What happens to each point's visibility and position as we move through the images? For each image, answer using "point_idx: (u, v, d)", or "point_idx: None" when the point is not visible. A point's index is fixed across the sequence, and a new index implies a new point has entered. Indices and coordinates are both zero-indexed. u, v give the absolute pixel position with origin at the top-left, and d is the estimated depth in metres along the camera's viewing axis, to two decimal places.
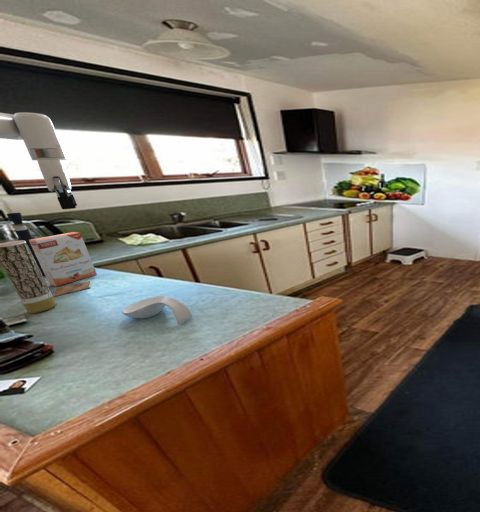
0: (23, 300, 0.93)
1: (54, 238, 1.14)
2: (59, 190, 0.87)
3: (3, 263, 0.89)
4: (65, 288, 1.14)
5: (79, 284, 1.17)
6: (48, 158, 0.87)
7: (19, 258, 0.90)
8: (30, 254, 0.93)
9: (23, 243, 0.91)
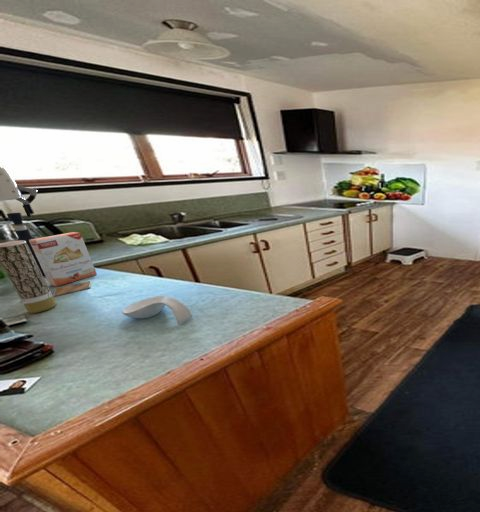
0: (23, 300, 0.93)
1: (54, 238, 1.14)
2: (35, 196, 0.91)
3: (3, 263, 0.89)
4: (65, 288, 1.14)
5: (79, 284, 1.17)
6: None
7: (19, 258, 0.90)
8: (30, 254, 0.93)
9: (23, 243, 0.91)
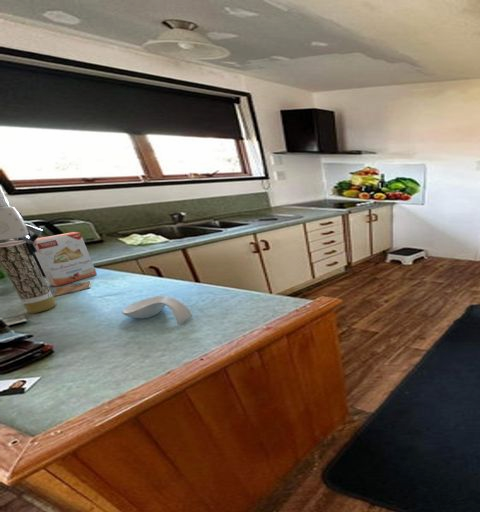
0: (23, 300, 0.93)
1: (54, 238, 1.14)
2: (38, 236, 0.94)
3: (3, 263, 0.89)
4: (65, 288, 1.14)
5: (79, 284, 1.17)
6: (9, 206, 0.88)
7: (19, 258, 0.90)
8: (30, 254, 0.93)
9: (23, 243, 0.91)
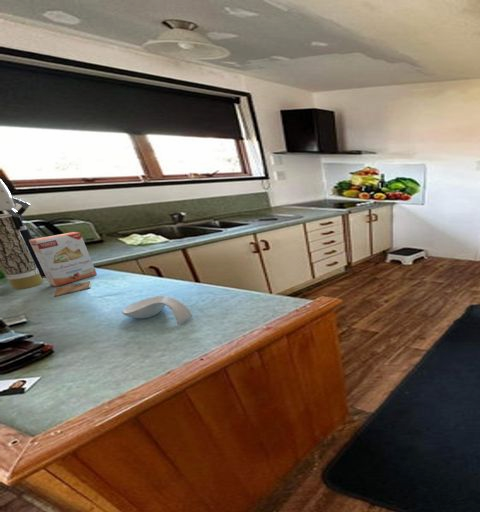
0: (8, 276, 0.90)
1: (54, 238, 1.14)
2: (25, 209, 0.91)
3: None
4: (65, 288, 1.14)
5: (79, 284, 1.17)
6: None
7: (4, 231, 0.87)
8: (16, 228, 0.90)
9: (9, 216, 0.88)
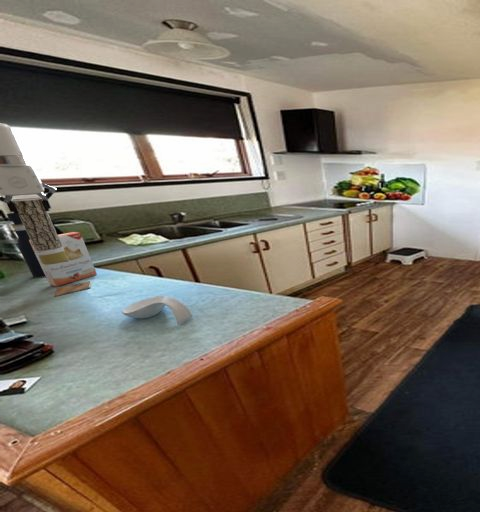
0: (38, 252, 1.02)
1: None
2: (52, 194, 1.03)
3: (21, 216, 0.98)
4: (65, 288, 1.14)
5: (79, 284, 1.17)
6: (27, 164, 0.98)
7: (35, 212, 0.99)
8: (45, 210, 1.02)
9: (39, 199, 1.00)
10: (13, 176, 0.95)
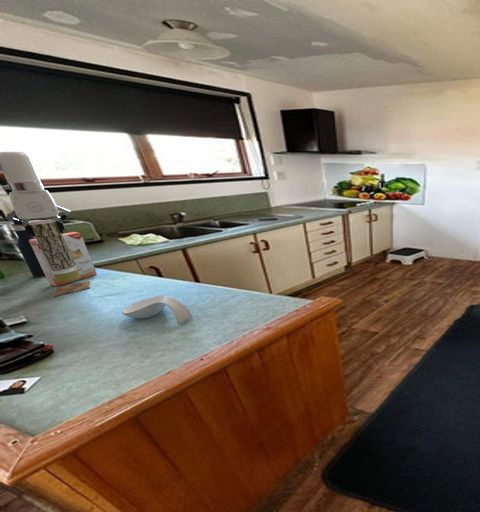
0: (54, 271, 1.08)
1: None
2: None
3: (38, 238, 1.03)
4: (65, 288, 1.14)
5: (79, 284, 1.17)
6: None
7: (51, 234, 1.05)
8: None
9: (54, 221, 1.06)
10: (31, 201, 1.00)
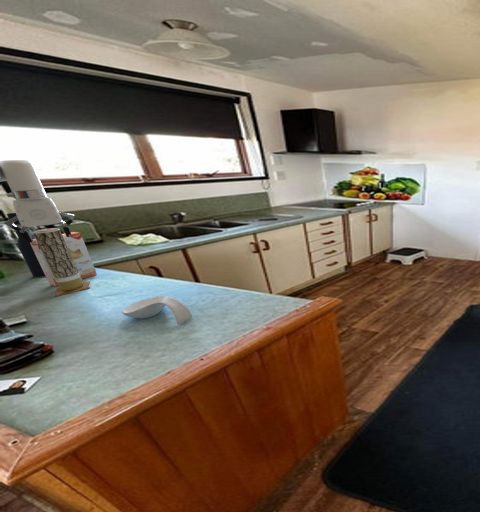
0: (57, 279, 1.09)
1: None
2: (72, 220, 1.10)
3: (41, 247, 1.04)
4: None
5: None
6: None
7: (55, 242, 1.06)
8: (63, 240, 1.09)
9: (58, 230, 1.07)
10: (34, 209, 1.01)
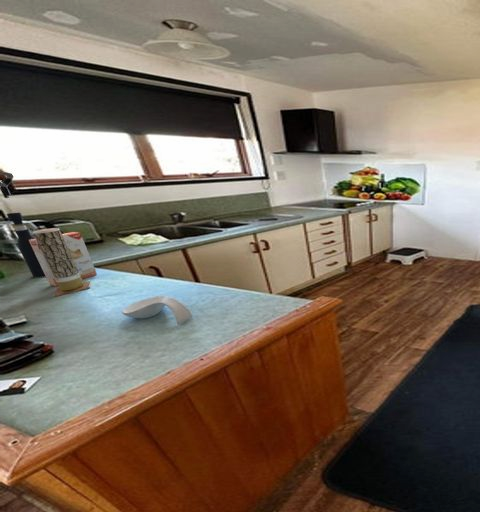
0: (57, 279, 1.09)
1: None
2: (11, 180, 1.00)
3: (41, 247, 1.04)
4: None
5: None
6: None
7: (54, 242, 1.06)
8: (63, 240, 1.09)
9: (58, 230, 1.07)
10: None
